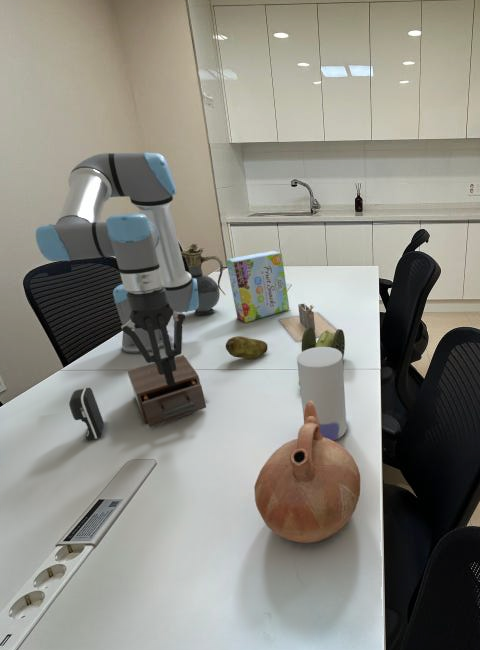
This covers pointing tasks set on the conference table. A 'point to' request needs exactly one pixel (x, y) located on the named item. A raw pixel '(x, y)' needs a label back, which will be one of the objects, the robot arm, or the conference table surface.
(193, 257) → the pitcher
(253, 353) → the potato
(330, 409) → the container
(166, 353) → the robot arm
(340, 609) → the conference table surface
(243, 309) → the snack box
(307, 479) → the jug
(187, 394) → the drawer
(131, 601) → the conference table surface
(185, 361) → the cabinet
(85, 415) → the battery charger
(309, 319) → the ruin model on sheet
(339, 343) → the cannon
